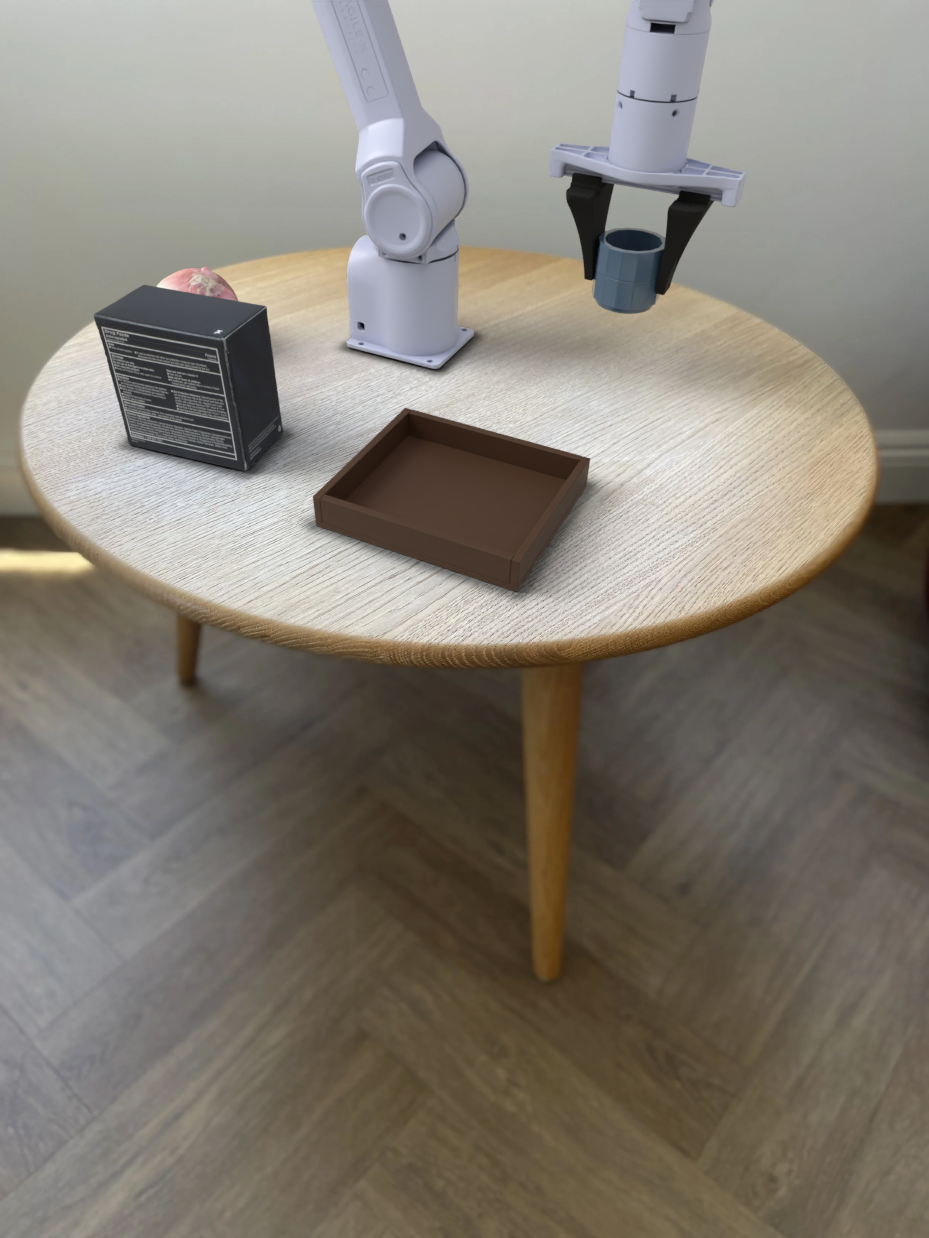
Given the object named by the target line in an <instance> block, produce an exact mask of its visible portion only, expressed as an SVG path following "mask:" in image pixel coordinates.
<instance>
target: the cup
mask: <svg viewBox="0 0 929 1238" xmlns="http://www.w3.org/2000/svg"><path fill="white" fill-rule="evenodd" d="M665 238H666V236H663V235H662V234H660V233H658V232H655V231H652V230H648V229H644V228H636V227H618V228H617V227H616V228H612V229H608V230H605V232H603V233H602V234H601V235H600V236H599V239H598V247H597V255H596V263H595V271H594V279H593V280H592V287H591V294H592V297H593V299H594V300H595V302H596V304H597V305H598V306H599V307H600V308H602V309H603V310H606V311H609V312H611V313H617V314H625V315H635V314H636V315H637V314H641V313H645V312H647V311H649V310H650V309H652V308H653V306H655V305H656V304H657V302H658V301H659V300H660V294H655V292H656V284H657V279H658V275H659V271H660V266H661V262H662V258H663V253H664V246H665Z"/></svg>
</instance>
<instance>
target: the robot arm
mask: <svg viewBox="0 0 929 1238" xmlns="http://www.w3.org/2000/svg"><path fill="white" fill-rule="evenodd" d="M310 1H311V2H310V3H311V5H312V7H313V10H314V13H315V16H316V19H317V21H318V24H319V27H320V30H321V33H322V36H323V38H324V41H325V43H326V46H327V49H328V52H329V55H330V57H331V60H332V64H333V65H334V68H335V71H336V74H337V76H338V80H339V83H340V84H341V85H340V86H341V88H342V91H343V93H344V96H345V99H346V101H347V104H348V107H349V109H350V112H351V115H352V118H353V120H354V125H355V126H356V130H357V132H358V143H357V144H358V145H357V150H356V159H355V168H354V171H355V176H356V178H357V181H358V184H359V187H360V191H361V200H362V201H361V220H362V223H363V227H364V230H365V232H366V234H364V235H362V236H360V237H359V238H358V239H357V240H356V242H355V243H354V245H353V247H352V249H351V250H350V254H349V257H348V261H347V268H346V288H347V304H348V305H347V306H348V316H349V317H348V319H349V333H350V334H349V335H350V338H349V339H347V340H346V347H348V348H351V349H353V350H358V351H361V352H366V353H370V354H374V355H378V356H381V357H385V358H388V359H389V358H390V359H393V360H398V361H400V362H405V363H408V364H409V363H410V364H412V365H417V366H420V367H423V368H428V369H433V370H437V369H438V370H439V369H440V368H442V366H443V365H445V363H446V362H448V361H449V360H450V359H451V358H452V357H453V356H454V355H455V354H456V353H457V352H458V351H459V350H460V349H461V348H463V346H465V345H466V344H467V343H468V342H469V341H470V340H471V339H472V338H473V337H474V336H475V330H474V329H472V328H468V327H464V326H460V325H459V286H460V285H459V283H460V281H459V280H460V279H459V278H460V237H459V233H458V231H457V227H456V218H458V217H459V216H460V215H461V214H462V212H463V211H464V210H465V207H466V205H467V202H468V199H469V198H468V197H469V179H468V176H467V172H466V170H465V168H464V166H463V164H462V163H461V161H460V160H459V158H457V156H456V155H455V154H454V153H453V152H452V151H451V149H450V148H449V146H448V144H447V143H446V140H445V137H444V134H443V131H442V128H441V126H440V124H439V123H438V122H437V121H436V120H435V119H434V118H433V116H431V115H430V114H429V113H428V112H427V111H426V110H425V108H424V107H423V105H422V102H421V100H420V96H419V94H418V90H417V87H416V84H415V81H414V78H413V74H412V72H411V69H410V66H409V62H408V60H407V55H406V52H405V49H404V47H403V43H402V40H401V37H400V34H399V30H398V27H397V24H396V21H395V18H394V15H393V12H392V8H391V5H390V2H389V0H310ZM714 2H715V0H630V5H629V9H628V11H627V12H626V15H625V24H624V33H623V39H622V48H621V55H620V63H619V70H618V78H617V85H616V86H617V87H616V94H615V100H614V109H613V115H612V116H613V117H612V123H611V131H610V132H611V133H610V140H609V146H605V145H603V146H602V145H586V144H584V145H583V144H572V143H565V142H564V143H563V142H559V143H558V144H556V145H555V146H553V147H552V148H551V149H550V157H549V166H548V167H549V169H548V176H549V177H551V178H552V177H553V178H559V179H561V178H563V177H570V178H571V182H570V184H569V185H570V186H569V187H568V188H567V189H566V190H565V199H566V204H567V205H568V208H569V210H570V212H571V215H572V218H573V221H574V223H575V226H576V231H577V234H578V238H579V243H580V247H581V255H582V263H583V275H584V276H583V277H584V278H583V279H584V280H587V281H592V282H593V279H594V271H595V263H596V255H597V247H598V239H599V236H600V235H601V234H602V233H603V232H605V231H606V225H607V221H608V216H609V215H608V214H609V209H610V207H611V201H612V197H613V192H614V187H615V185H618V186H623V187H630V188H634V189H635V188H636V189H641V190H647V191H653V192H659V193H666V194H671V195H676V196H678V197H677V198H676V199H674V201H673V202H672V203H670V205H669V206H668V207H667V208H668V209H667V215H666V227H665V228H666V229H665V230H666V231H665V246H664V253H663V258H662V262H661V266H660V271H659V275H658V279H657V284H656V292H655V294H660V295H661V296H665V295H666V293H667V292H668V290H669V289H670V287H671V285H672V282H673V278H674V276H675V272H676V270H677V268H678V265H679V262H680V260H681V258H682V256H683V253H684V252H685V249H686V248H687V246H688V244H689V242H690V240H691V238H692V236H693V235H694V233H695V232H696V230H697V228H698V227H699V225H700V224H701V222H702V220H703V219H704V217H705V216H706V214H707V212H708V211H709V210H710V208H711V207H712V205H713V204H714V202H718V203H720V205H721V206H723V207H729V208H735V207H736V206H737V205H738V204H739V203H740V201H741V199H742V194H743V190H744V185H745V181H746V177H747V171H742V170H737V169H732V168H727V167H724V166H721V165H720V166H719V165H716V164H712V163H709V162H706V161H702V160H699V159H694V158H692V157H688V152H689V148H690V147H689V146H690V141H691V136H692V130H693V125H694V119H695V114H696V109H697V103H698V99H699V98H698V97H699V93H700V87H701V82H702V76H703V71H704V66H705V60H706V55H707V49H708V44H709V38H710V32H711V28H712V22H713V17H712V14H711V8H712V6H713V4H714ZM660 295H659V296H660Z"/></svg>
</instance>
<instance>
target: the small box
mask: <svg viewBox="0 0 929 1238" xmlns="http://www.w3.org/2000/svg"><path fill="white" fill-rule="evenodd" d="M93 319H94V323H95V325H96V328H97V330H98V334H99V338H100V341H101V343H102V347H103V351H104V355H105V357H106V362H107V365H108V370H109V372H110V376H111V380H112V384H113V388H114V391H115V396H116V398H117V402H118V406H119V411H120V415H121V417H122V421H123V425H124V429H125V434H126V436H127V437H126V438H127V443H128V445H130V446H134V447H138V448H142V449H147V450H149V451H150V450H151V451H155V452H160V453H164V454H169V455H172V456H178V457H181V458H185V459H190V460H195V461H199V462H204V463H208V464H213V465H217V466H221V467H225V468H230V469H234V470H239V471H244V472H245V471H247V470H249V469H250V468H251V467H252V466H253V465H254V463H256V462H257V461H258V459H259V458H260V457H261V456H262V455H263V454H264V453H265V452H267V450H268V449H269V448H270V447H271V446H272V445H273V444H274V443H276V441H277V440H278V439H279V438H281V435H282V434H283V433H284V427H283V420H282V413H281V406H280V399H279V390H278V384H277V376H276V369H275V362H274V355H273V346H272V338H271V332H270V325H269V318H268V307H267V306H266V305H262V304H257V303H251V302H246V301H245V302H244V301H240V300H238V301H234V300H229V299H223V298H217V297H211V296H205V295H200V294H194V293H189V292H183V291H177V290H171V289H166V288H160V287H157V286H154V285H148V284H142V285H140V286H139V287H137V288H136V289H135V288H134V290H132V291H130V292H129V293H127V294H125V295H124V296H122V297H120V298H119V299H117V300H116V301H114V302H113V303H111V304H109V305H107V306H105V307H104V308H101V309H100V310H99V311H97V312H95V313H94V314H93Z"/></svg>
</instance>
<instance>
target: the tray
mask: <svg viewBox="0 0 929 1238" xmlns="http://www.w3.org/2000/svg"><path fill="white" fill-rule="evenodd" d="M590 463H591V458H590V457H588V456H584V455H580V454H577V453H572V452H569V451H566V450H561V449H558V448H555V447H551V446H548V445H544V444H541V443H536V442H533V441H529V440H526V439H521V438H518V437H514V436H511V435H507V434H503V433H500V432H496V431H494V430H493V431H492V430H489V429H485V428H481V427H479V426H474V425H470V424H466V423H463V422H460V421H455V420H452V419H449V418H445V417H441V416H437V415H434V414H431V413H427V412H423V411H419V410H417V409H416V410H415V409H412V408H409V407H404V408H403V409H402V410H401V411H400V412H399V413H398V414H397V415H396V416H395V417H394V418H393V419H392V420H391V421H389V423H388V424H386V425H385V426H384V428H382V429H381V430H380V431H379V432H378V433H377V434H375V436H374V437H373V438H372V439H371V440H370V441H368V443H367V444H365V446H363V447H362V448H361V449H360V451H358V452H357V453H356V454H355V455H354V456H353V457H352V458H350V460H349V461H348V462H347V463H346V464H345V465H344V466H342V468H340V469H339V470H338V472H337V473H335V474H334V476H332V477H331V478H329V480H328V481H327V482H326V483H325V484H324V485H323V486H322V487H321V488H320V489H319V490H318V491H316V493H314V495H312V501H313V509H314V518H315V526H316V527H319V528H323V529H324V530H325V529H326V530H329V531H331V532H334V533H338V534H340V535H344V536H347V537H349V538H352V539H355V540H359V541H362V542H364V543H368V544H371V545H374V546H377V547H380V548H383V549H386V550H389V551H392V552H395V553H398V554H401V555H404V556H407V557H410V558H412V559H413V558H414V559H416V560H419V561H422V562H425V563H428V564H430V565H431V564H432V565H434V566H437V567H441V568H444V569H447V570H449V571H453V572H456V573H459V574H462V575H465V576H468V577H471V578H474V579H477V580H480V581H482V582H486V583H489V584H492V585H495V586H498V587H501V588H505V589H507V590H509V591H513V592H516V593H517V592H519V590H520V589H521V588H522V586H523V584H524V582H526V580H527V578H528V576H529V575H530V573H531V572H532V570H533V569H534V567H535V565H537V563H538V562H539V560H540V558H541V557H542V555H543V553H545V551H546V549H547V547H548V546H549V544H550V543H551V541H552V540H553V538H554V537H555V535H556V533H557V532H558V530H559V529H560V528H561V526H562V524H563V523H564V521H565V520H566V518H567V517H568V515H569V514H570V512H571V510H572V509H573V508H574V506H575V505H576V503H577V501H578V500H579V498H580V497H581V495H582V493H583V492H584V490H585V489H586V487H587V485H588V476H589V470H590Z"/></svg>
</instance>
